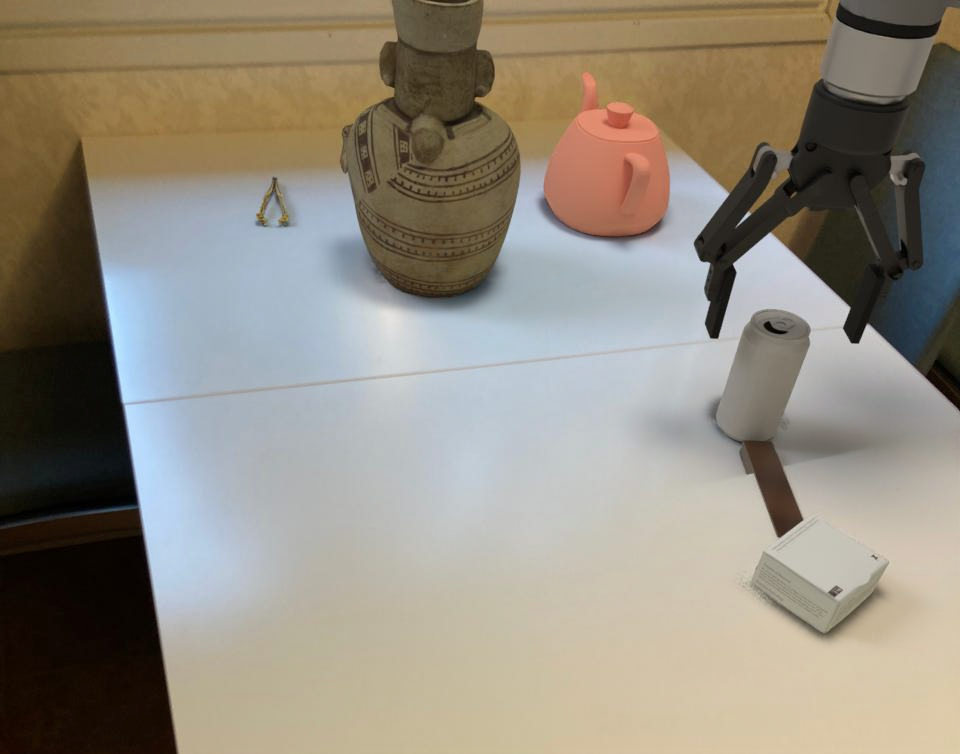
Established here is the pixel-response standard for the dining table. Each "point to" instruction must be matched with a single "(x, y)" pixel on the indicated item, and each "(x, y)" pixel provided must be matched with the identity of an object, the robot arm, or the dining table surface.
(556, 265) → the dining table surface
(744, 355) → the beverage can
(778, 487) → the walnut slat
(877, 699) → the dining table surface
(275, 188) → the tongs
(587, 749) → the dining table surface
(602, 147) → the teapot
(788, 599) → the small box
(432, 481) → the dining table surface
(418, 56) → the ceramic vessel
